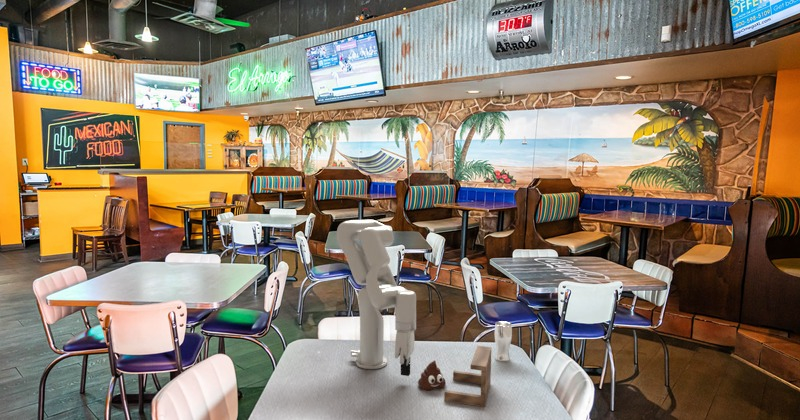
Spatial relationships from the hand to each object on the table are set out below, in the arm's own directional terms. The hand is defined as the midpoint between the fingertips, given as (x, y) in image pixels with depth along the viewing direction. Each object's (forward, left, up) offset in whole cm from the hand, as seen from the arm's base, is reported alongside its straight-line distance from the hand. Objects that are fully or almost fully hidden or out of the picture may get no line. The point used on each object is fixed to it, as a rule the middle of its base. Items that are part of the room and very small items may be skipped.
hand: (405, 374), depth 161 cm
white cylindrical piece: (+32, +34, -3) cm, 47 cm away
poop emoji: (+10, 0, -3) cm, 10 cm away
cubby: (+22, 0, -3) cm, 22 cm away
